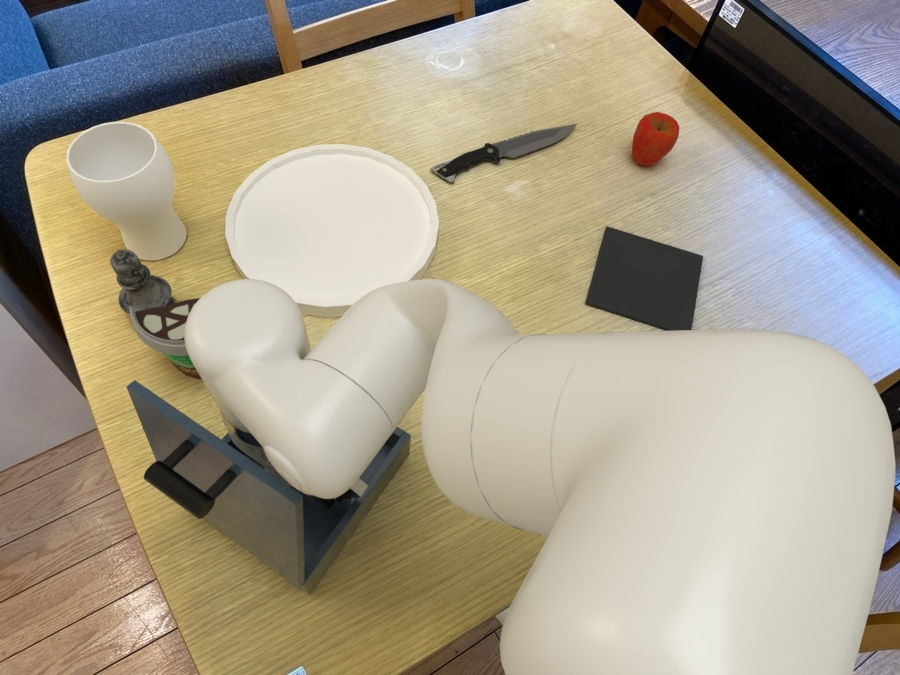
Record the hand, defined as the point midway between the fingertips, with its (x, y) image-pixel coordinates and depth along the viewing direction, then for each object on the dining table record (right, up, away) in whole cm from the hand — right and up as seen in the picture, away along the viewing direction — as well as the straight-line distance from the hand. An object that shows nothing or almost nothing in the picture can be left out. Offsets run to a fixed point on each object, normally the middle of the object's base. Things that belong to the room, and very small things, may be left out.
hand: (299, 468), depth 64 cm
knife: (+25, +42, +31) cm, 58 cm away
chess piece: (-21, +17, +12) cm, 29 cm away
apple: (+46, +41, +33) cm, 70 cm away
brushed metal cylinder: (0, -2, +3) cm, 3 cm away
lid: (-3, +1, -13) cm, 13 cm away
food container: (-13, +10, +9) cm, 19 cm away
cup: (-23, +27, +18) cm, 40 cm away
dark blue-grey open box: (0, -2, +3) cm, 4 cm away
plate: (0, +28, +21) cm, 35 cm away
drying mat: (+42, +21, +21) cm, 52 cm away
